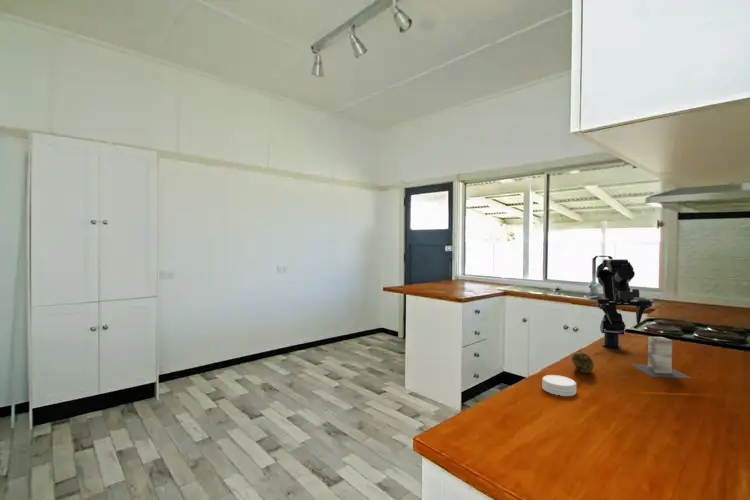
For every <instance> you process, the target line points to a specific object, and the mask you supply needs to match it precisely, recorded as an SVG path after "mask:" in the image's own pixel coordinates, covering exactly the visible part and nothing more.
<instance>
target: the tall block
mask: <svg viewBox="0 0 750 500" xmlns="http://www.w3.org/2000/svg"><path fill="white" fill-rule="evenodd" d="M647 339H648V340H647V346H648V347H647V365H648V368H649V369H650V370H652V371H654V372H656V373H672V367H673V362H672V359H673V340H672V339H669V338H667V337H663V336H648V338H647Z"/></svg>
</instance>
